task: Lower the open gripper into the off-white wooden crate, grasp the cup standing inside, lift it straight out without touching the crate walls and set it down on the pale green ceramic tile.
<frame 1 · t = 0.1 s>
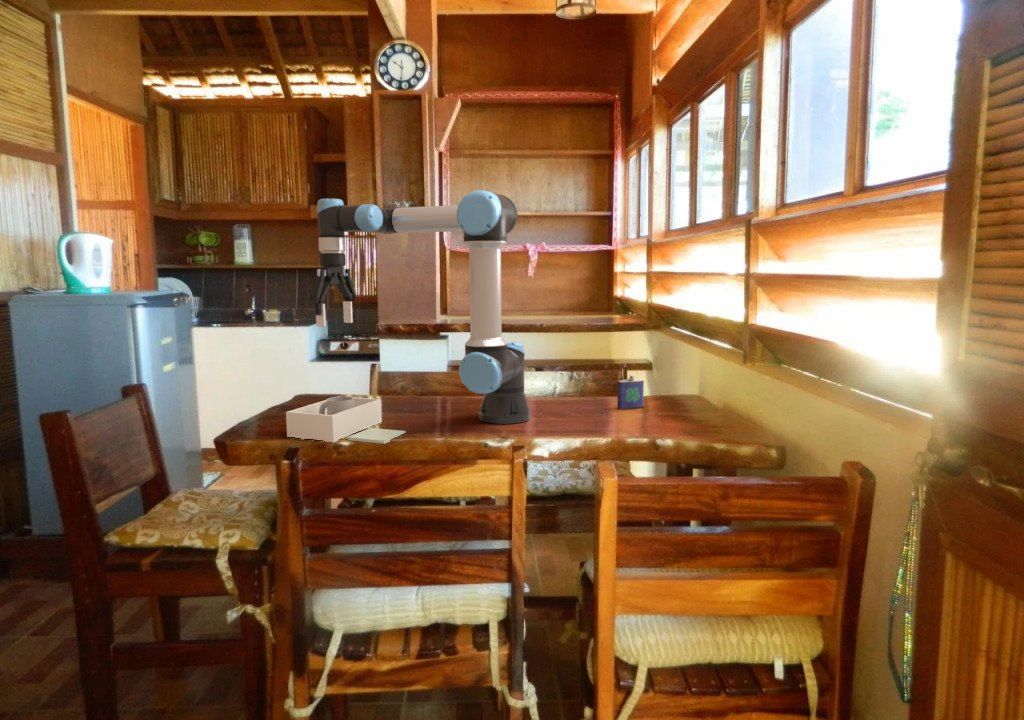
hand: (335, 324, 204), 28 cm above the table, fingers open, 13 cm apart
tile: (377, 437, 182), on the table
crate: (336, 430, 190), on the table
cup: (336, 430, 190), resting in crate
cake: (630, 408, 217), on the table
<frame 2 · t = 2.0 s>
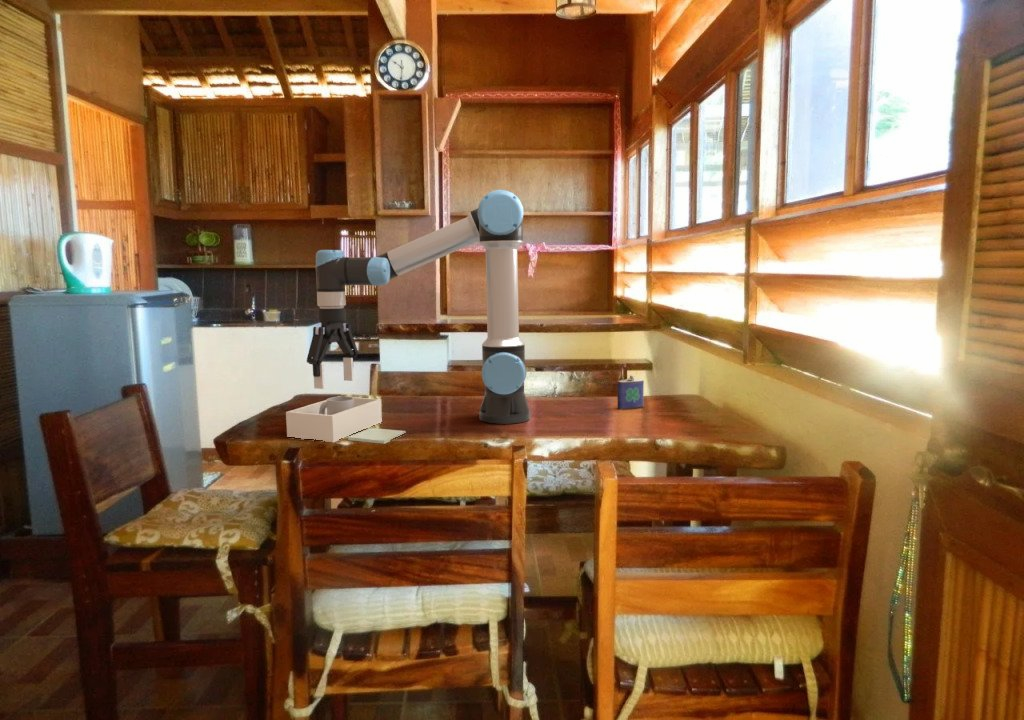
hand: (334, 384, 188), 13 cm above the table, fingers open, 13 cm apart
nothing on the table moved.
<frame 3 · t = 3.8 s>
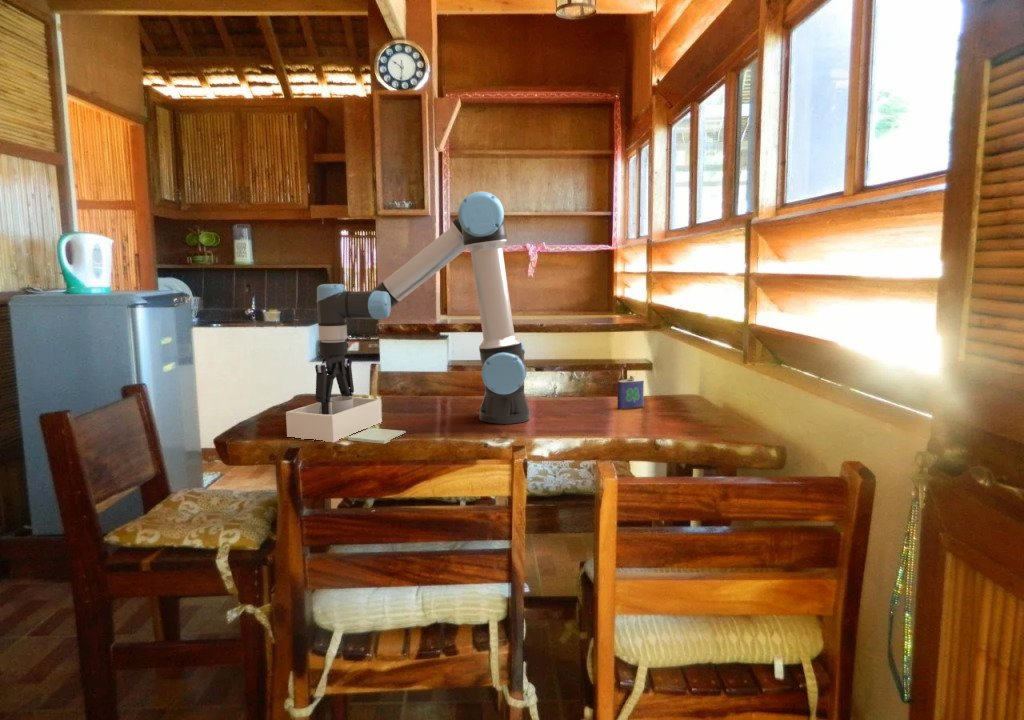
hand: (336, 422, 190), 2 cm above the table, fingers closed on cup, 7 cm apart
cup: (336, 430, 190), resting in crate, touching gripper
everything else where it was.
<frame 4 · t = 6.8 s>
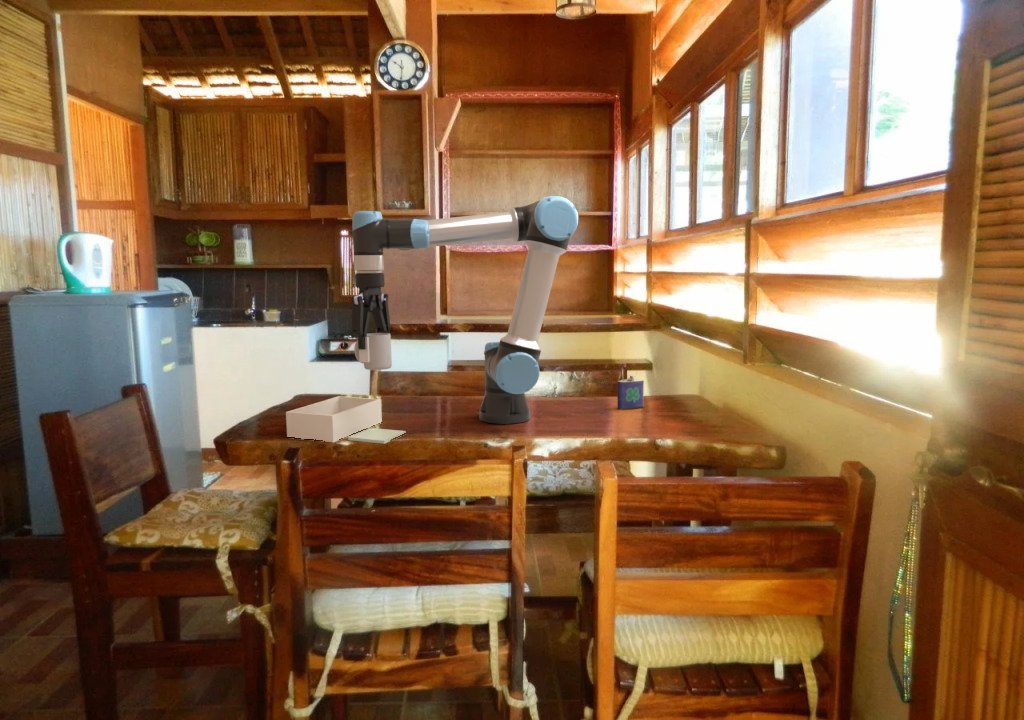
hand: (373, 359, 180), 21 cm above the table, fingers closed on cup, 7 cm apart
cup: (373, 368, 180), point 18 cm above the table, touching gripper
everything else where it was.
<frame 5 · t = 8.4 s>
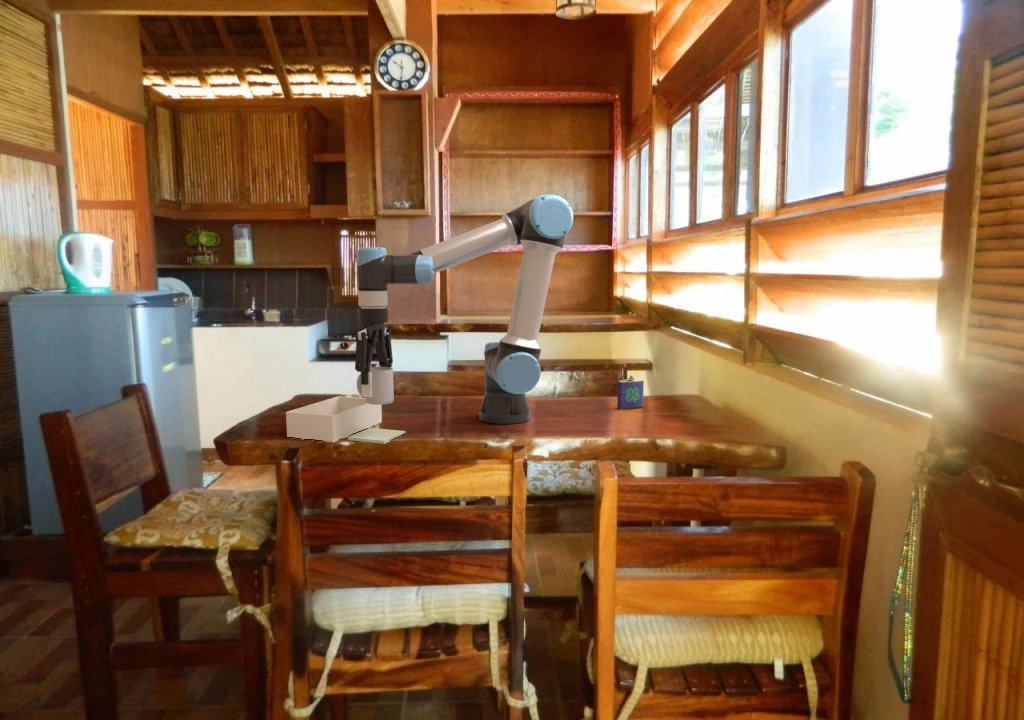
hand: (375, 393, 180), 12 cm above the table, fingers closed on cup, 7 cm apart
cup: (375, 402, 181), point 9 cm above the table, touching gripper
everything else where it was.
when the fingers open (4 cm above the table, at t = 10.0 s): cup drops 1 cm, resting on tile.
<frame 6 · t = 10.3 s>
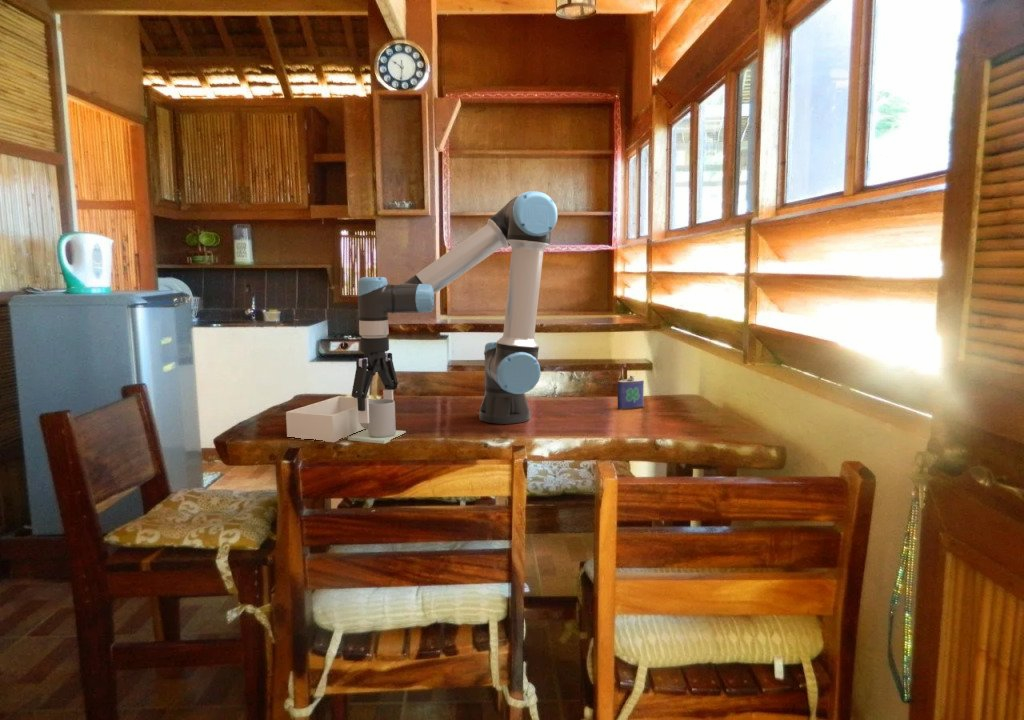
hand: (376, 417, 181), 5 cm above the table, fingers open, 11 cm apart
cup: (377, 435, 182), point 1 cm above the table, touching tile
everything else where it was.
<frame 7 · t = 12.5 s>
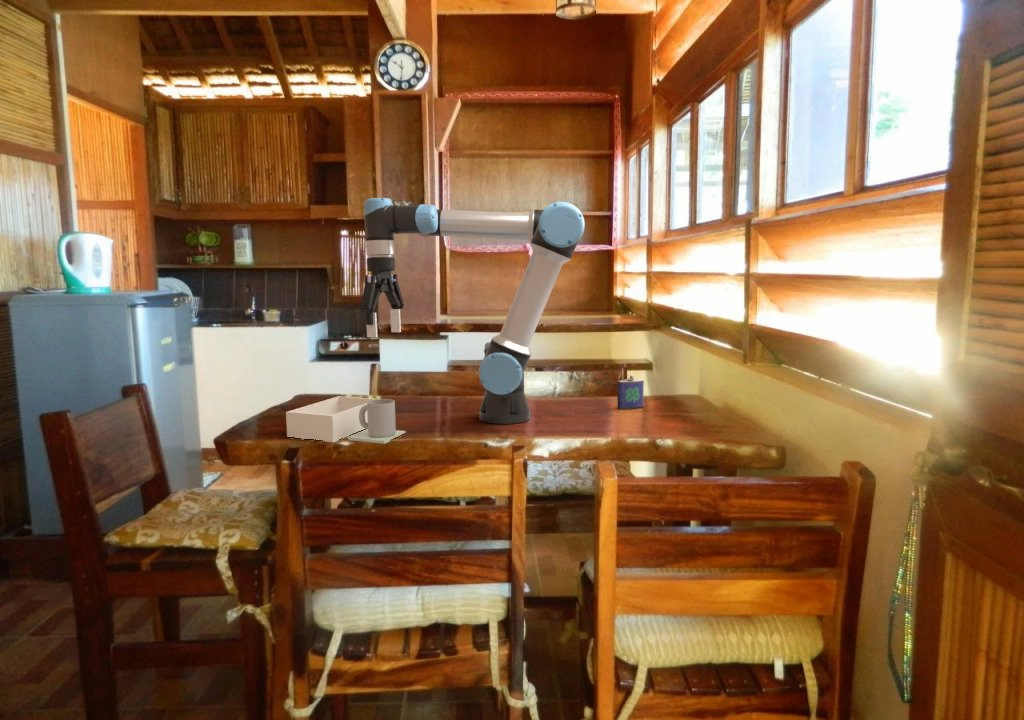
hand: (384, 334, 188), 26 cm above the table, fingers open, 13 cm apart
nothing on the table moved.
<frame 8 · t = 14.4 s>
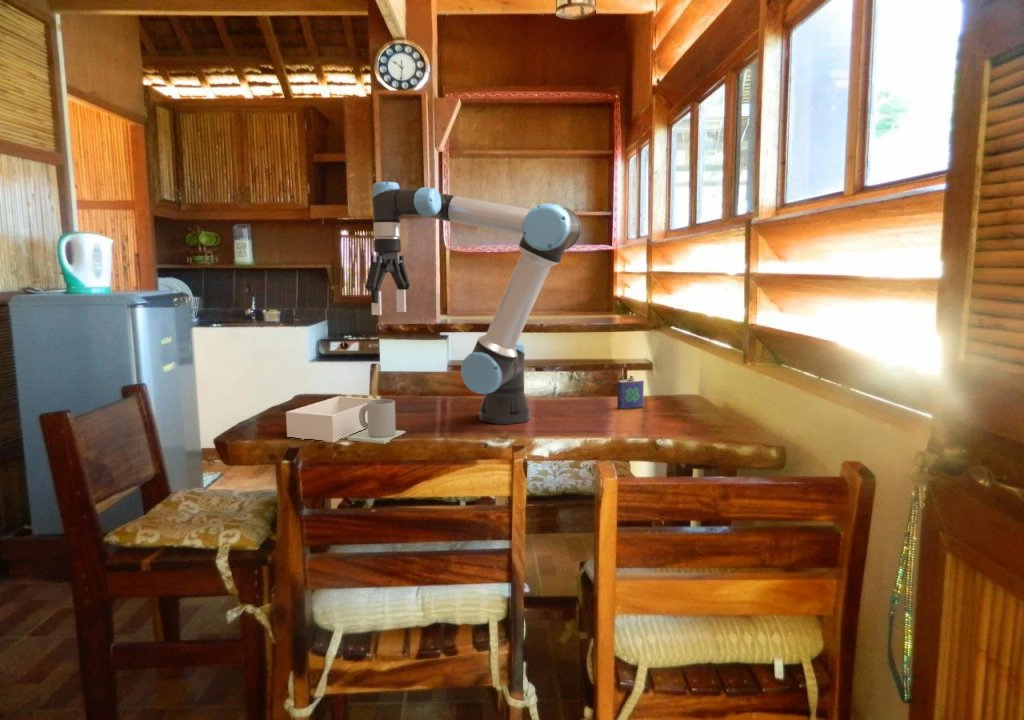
hand: (389, 313, 197), 32 cm above the table, fingers open, 13 cm apart
nothing on the table moved.
at the end: cup inside the target area on the tile (0.3 cm from its centre), point 0.6 cm above the tile's base; cup tilted 0°; the gripper is holding nothing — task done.
